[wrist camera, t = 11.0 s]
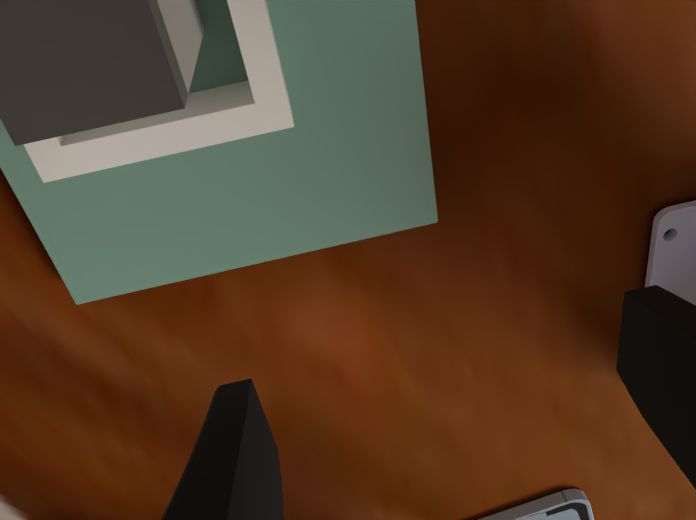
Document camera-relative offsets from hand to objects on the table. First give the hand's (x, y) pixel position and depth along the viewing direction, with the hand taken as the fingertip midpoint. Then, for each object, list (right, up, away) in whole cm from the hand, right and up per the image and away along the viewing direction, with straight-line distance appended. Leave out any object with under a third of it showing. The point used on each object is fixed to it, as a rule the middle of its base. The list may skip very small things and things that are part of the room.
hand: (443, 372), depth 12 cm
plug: (-7, +9, +3) cm, 12 cm away
